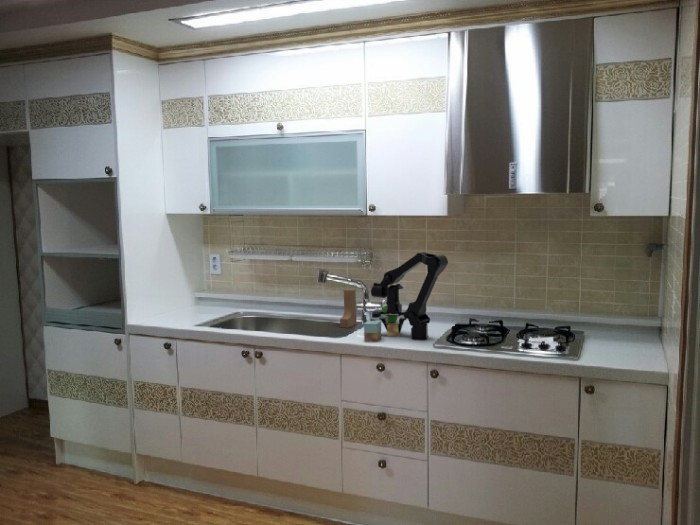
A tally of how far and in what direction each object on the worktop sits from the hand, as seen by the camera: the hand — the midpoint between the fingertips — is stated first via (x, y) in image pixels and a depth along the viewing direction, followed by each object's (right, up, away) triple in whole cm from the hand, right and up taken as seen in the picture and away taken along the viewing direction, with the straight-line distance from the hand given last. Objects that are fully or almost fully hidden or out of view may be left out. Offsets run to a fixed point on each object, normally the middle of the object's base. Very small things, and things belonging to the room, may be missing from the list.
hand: (394, 332), depth 281 cm
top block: (-10, +2, -9) cm, 13 cm away
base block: (-10, -2, -8) cm, 13 cm away
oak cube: (0, -1, 0) cm, 1 cm away
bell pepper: (0, +2, +30) cm, 30 cm away
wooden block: (-21, 0, +24) cm, 32 cm away
